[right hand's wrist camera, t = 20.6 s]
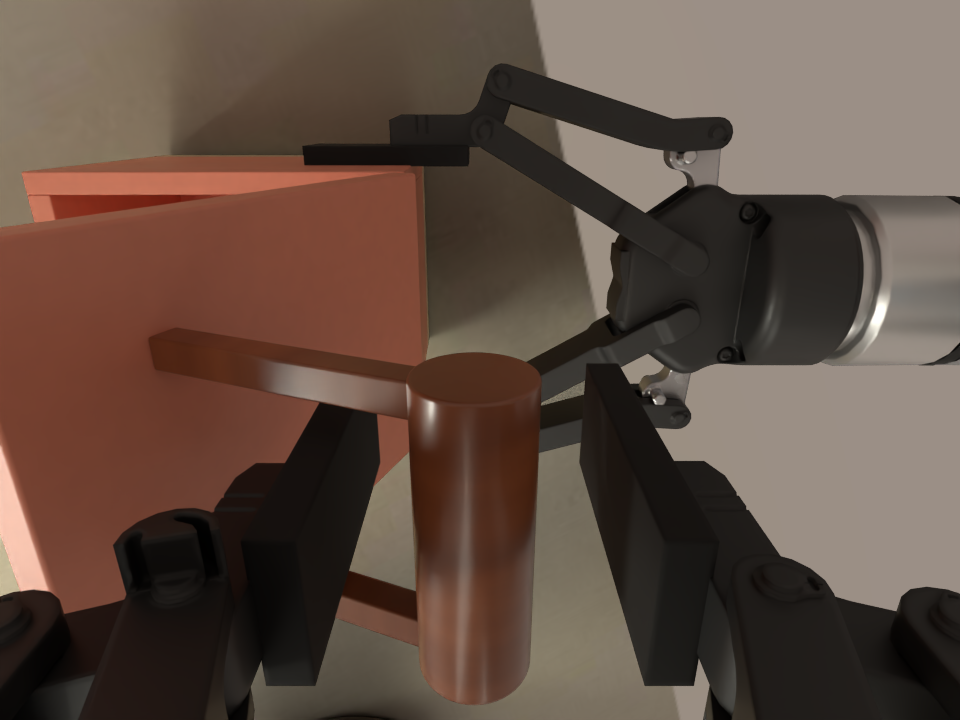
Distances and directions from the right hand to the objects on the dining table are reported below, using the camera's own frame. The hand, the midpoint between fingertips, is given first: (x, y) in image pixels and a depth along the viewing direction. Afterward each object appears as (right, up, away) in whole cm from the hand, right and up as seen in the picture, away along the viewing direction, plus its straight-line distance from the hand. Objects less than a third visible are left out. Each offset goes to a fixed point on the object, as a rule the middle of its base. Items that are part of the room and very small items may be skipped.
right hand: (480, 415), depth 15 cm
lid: (-6, +1, +2) cm, 6 cm away
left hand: (-7, +5, +12) cm, 15 cm away
